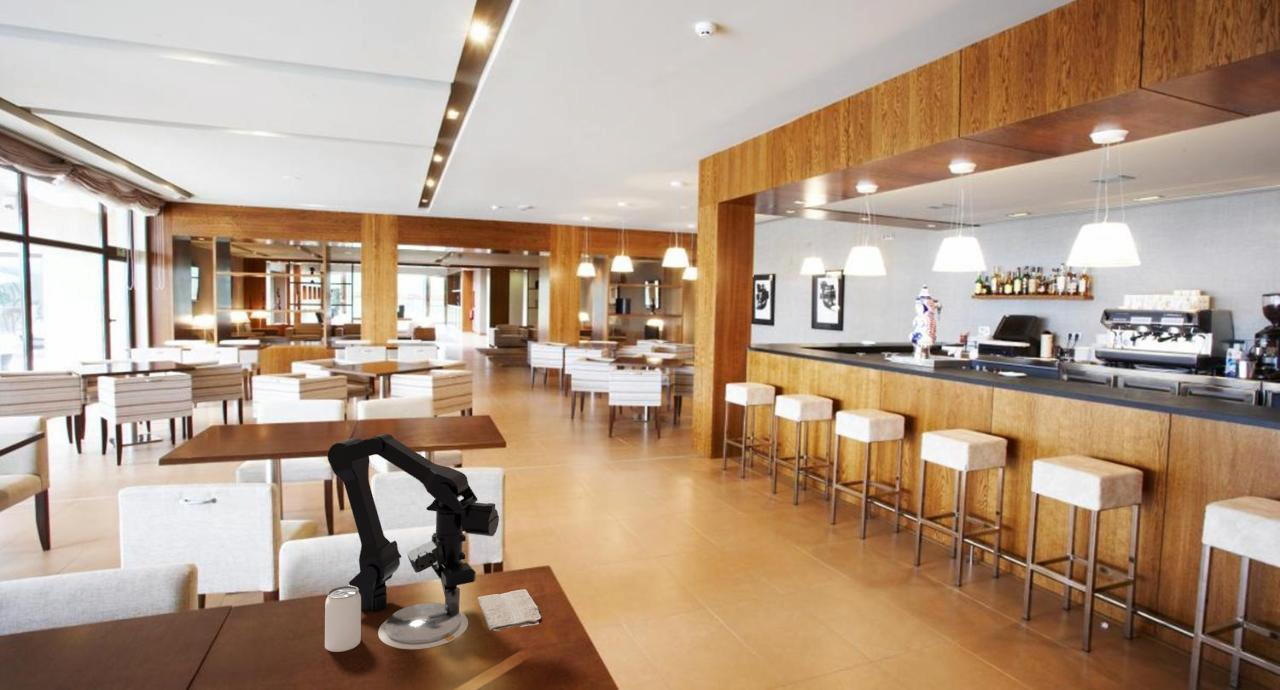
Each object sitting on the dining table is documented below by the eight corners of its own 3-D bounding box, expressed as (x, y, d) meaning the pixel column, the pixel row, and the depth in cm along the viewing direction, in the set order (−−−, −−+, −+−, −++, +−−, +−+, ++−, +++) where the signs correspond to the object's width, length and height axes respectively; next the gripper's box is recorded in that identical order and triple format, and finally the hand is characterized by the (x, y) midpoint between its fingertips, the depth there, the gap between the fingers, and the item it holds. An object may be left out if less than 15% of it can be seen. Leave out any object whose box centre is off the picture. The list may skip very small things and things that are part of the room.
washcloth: (490, 642, 136) (490, 627, 135) (474, 605, 152) (474, 592, 152) (545, 632, 141) (545, 618, 140) (524, 597, 157) (524, 584, 157)
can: (346, 661, 126) (347, 600, 125) (317, 656, 127) (317, 596, 126) (367, 644, 132) (368, 586, 131) (339, 640, 133) (339, 583, 133)
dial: (397, 651, 127) (397, 619, 126) (377, 620, 139) (378, 590, 138) (471, 632, 135) (472, 601, 135) (447, 603, 148) (447, 575, 147)
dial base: (359, 637, 135) (360, 628, 135) (431, 605, 150) (431, 598, 150) (414, 666, 125) (415, 657, 125) (485, 629, 140) (485, 621, 140)
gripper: (401, 521, 145) (400, 588, 147) (422, 553, 130) (421, 627, 131) (451, 514, 151) (449, 578, 153) (477, 543, 136) (475, 614, 137)
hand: (447, 598), depth 143 cm, fingers closed
